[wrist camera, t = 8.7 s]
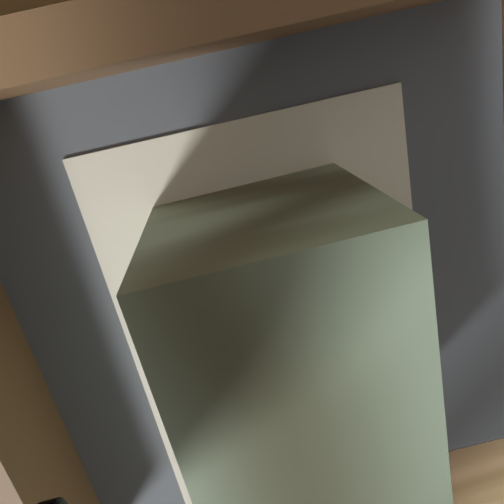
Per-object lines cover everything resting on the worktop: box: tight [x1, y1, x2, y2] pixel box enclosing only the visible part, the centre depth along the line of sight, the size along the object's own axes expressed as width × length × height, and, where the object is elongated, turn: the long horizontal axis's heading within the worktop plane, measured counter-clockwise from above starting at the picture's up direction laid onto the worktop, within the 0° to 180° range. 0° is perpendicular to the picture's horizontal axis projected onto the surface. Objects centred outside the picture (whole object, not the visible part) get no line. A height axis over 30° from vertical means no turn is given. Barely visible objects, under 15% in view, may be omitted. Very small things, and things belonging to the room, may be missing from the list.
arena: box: [0, 0, 504, 504], centre depth 11 cm, size 14×14×4 cm
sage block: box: [116, 163, 453, 504], centre depth 10 cm, size 4×8×5 cm, turn 13°
